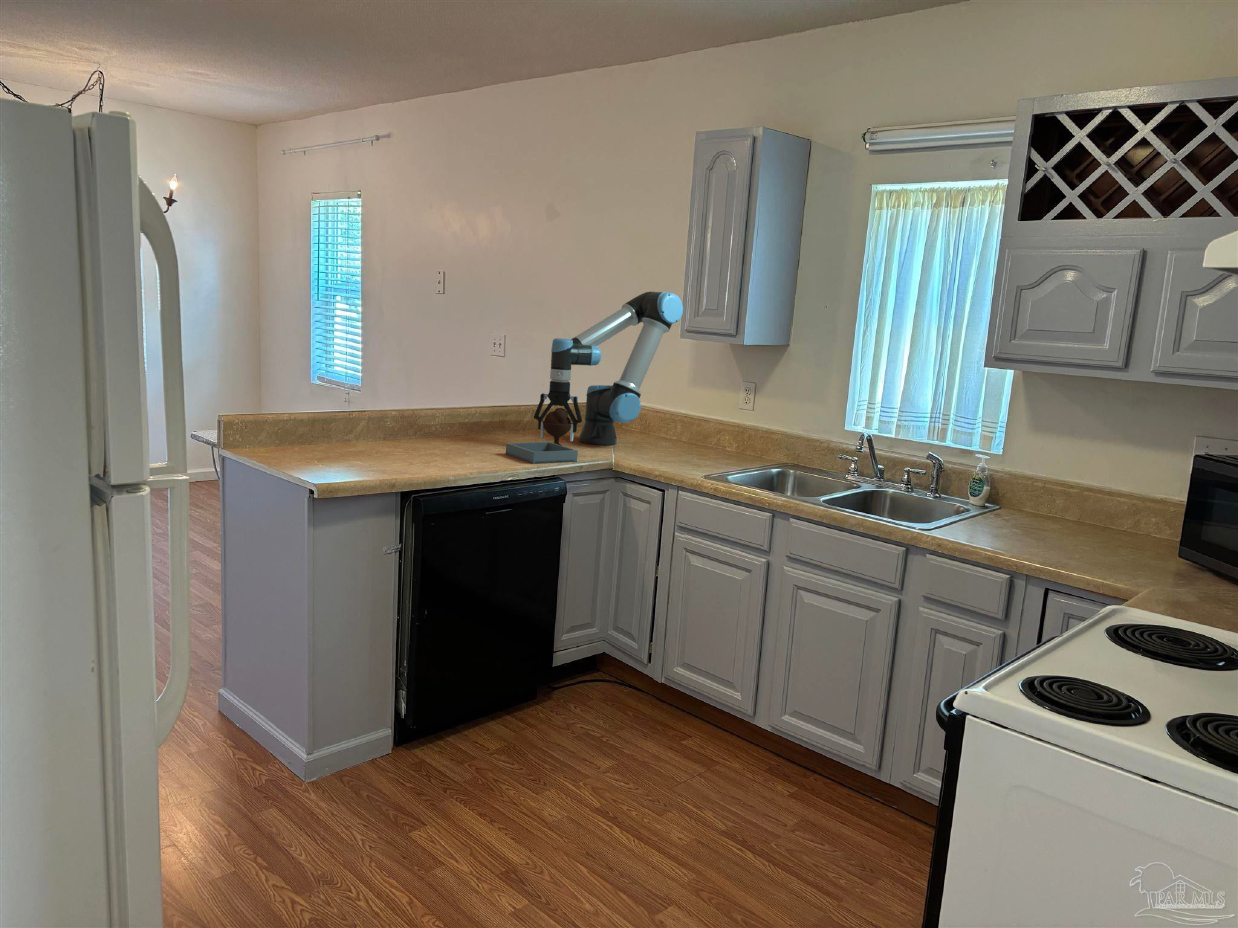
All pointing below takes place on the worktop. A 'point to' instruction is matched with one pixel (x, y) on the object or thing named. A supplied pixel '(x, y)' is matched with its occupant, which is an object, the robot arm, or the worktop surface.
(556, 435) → the ice cream bowl
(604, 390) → the robot arm
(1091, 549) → the worktop surface
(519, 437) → the worktop surface
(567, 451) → the charcoal bin
